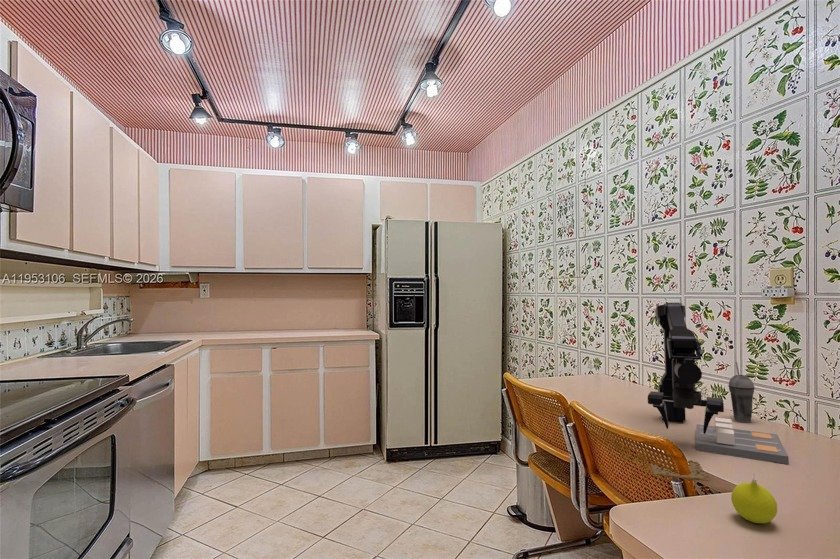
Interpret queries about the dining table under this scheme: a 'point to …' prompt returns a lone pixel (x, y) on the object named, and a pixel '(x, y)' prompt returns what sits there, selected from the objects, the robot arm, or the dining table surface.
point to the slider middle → (724, 426)
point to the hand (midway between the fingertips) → (685, 430)
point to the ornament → (754, 502)
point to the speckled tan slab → (695, 474)
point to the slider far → (723, 421)
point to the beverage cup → (741, 397)
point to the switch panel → (743, 445)
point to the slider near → (725, 436)
